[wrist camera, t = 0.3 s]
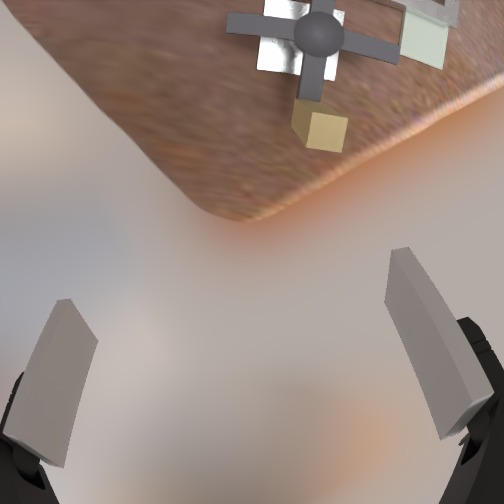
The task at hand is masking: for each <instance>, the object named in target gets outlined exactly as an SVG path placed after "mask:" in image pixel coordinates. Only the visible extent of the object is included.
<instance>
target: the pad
mask: <svg viewBox="0 0 504 504" xmlns="http://www.w3.org/2000/svg"><path fill="white" fill-rule="evenodd" d="M447 35H448V28H444V27H442V26H440V25H437V24H435V23H433V22H431V21H428V20H426V19H424V18H421V17H419V16H417V15H414V14H412V13H409V12H406V11H404V12H403V18H402V26H401V33H400V39H399V46H401V50H400V55H402V56H405V57H408V58H411V59H413V60H416V61H419V62H422V63H424V64H427V65H429V66H432V67H435V68H437V69H440V70H442V67H443V61H444V55H445V49H446V42H447Z"/></svg>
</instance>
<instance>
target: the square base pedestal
mask: <svg viewBox="0 0 504 504" xmlns="http://www.w3.org/2000/svg"><path fill="white" fill-rule="evenodd" d="M309 5H310V4H306V3H301V2H295V1H289V0H265V6H264V14H263V15H267V16H274V17H282V18H288V19H294V20H298V19H299V18H300V17H302V16H304V15H305V14H307V13H308V12H309ZM344 13H345V12H343V11H339V10H334V14H333V16H334V17H335V18H336V19H337V20H338V21H339V22H340V23H341V25H342V27H343V20H344ZM338 54H339V51H338V52H337V53H335V54H334V55H332V56H329V57H327V62H326V68H325V75H324V79H327V80H332V81H334V79H335V73H336V67H337V61H338ZM302 55H303V52H301V51H300V50H299V49H298V48H297V47H296V45H295V43H294V41H291V40H284V39H277V38H269V37H260V45H259V54H258V62H257V69H261V70H269V71H277V72H285V73H292V74H298V75H300V69H301V62H302Z"/></svg>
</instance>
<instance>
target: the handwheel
mask: <svg viewBox="0 0 504 504" xmlns="http://www.w3.org/2000/svg"><path fill="white" fill-rule="evenodd" d="M334 6H335V0H310V5H309V12H308V13H307V14H305V15H304V16H302V17H300V18H299V19H298V20H294V19H288V18H282V17H274V16H267V15H258V14H248V13H236V12H228V17H227V25H226V33H227V34H240V35H251V36H261V37H269V38H277V39H284V40H291V41H294V43H295V45H296V47H297V48H298V49H299V50H300V51H301V52H303V55H302V62H301V69H300V76H299V83H298V90H297V97H296V98H295V101H294V108H293V114H292V121H291V127H292V128H293V130H294V131H295V132H296V134H297V135H298V137H299V138H300V139H301V141H302V142H303V144H304V145H305V146H306V148H313V149H321V150H327V151H334V152H340V153H341V151H342V146H343V142H344V137H345V132H346V127H347V122H348V118H347V117H345V116H344V115H342V114H341V113H339V112H338V111H336V110H334V109H333V108H331V107H329V106H328V105H326V104H325V103H322V102H320V99H321V93H322V87H323V81H324V75H325V68H326V62H327V57H329V56H332V55H334V54H335V53H337V52H338V51H339V50H342V51H347V52H351V53H355V54H359V55H363V56H366V57H370V58H374V59H377V60H381V61H384V62H387V63H391V64H395V65H398V62H399V56H400V50H401V46H398V45H395V44H392V43H389V42H386V41H383V40H380V39H376V38H373V37H370V36H366V35H363V34H359V33H355V32H351V31H347V30H343V27H342V25H341V23H340V22H339V21H338V20H337V19H336V18H335V17H334V16H333V14H334Z"/></svg>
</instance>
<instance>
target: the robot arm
mask: <svg viewBox="0 0 504 504" xmlns="http://www.w3.org/2000/svg"><path fill="white" fill-rule="evenodd" d="M384 302H385V305H386V307H387V309H388V311H389V313H390V315H391V317H392V320H393V322H394V324H395V326H396V329H397V331H398V333H399V335H400V338H401V340H402V342H403V344H404V347H405V349H406V351H407V354H408V356H409V359H410V361H411V363H412V366H413V368H414V371H415V373H416V375H417V378H418V380H419V383H420V386H421V388H422V391H423V393H424V396H425V399H426V401H427V404H428V407H429V409H430V412H431V415H432V418H433V420H434V423H435V426H436V429H437V432H438V435H439V438H440V440H443V439H446V438H448V437H450V436H453V435H456V434H458V433H460V432H461V431H462V430H463V429H464V427H465V426H467V428H468V431H469V433H468V434H467V435H466V436H465V437H464V438H463V439H462V440H461V442H460V443H459V446H461V445H462V444H463V443H464V446H463V448H462V451H461V454H460V456H459V459H458V461H457V464H456V466H455V469H454V471H453V474H452V476H451V478H450V481H449V483H448V485H447V487H446V489H445V492H444V494H443V496H442V498H441V500H440V502H439V504H504V370H503V368H502V366H501V364H500V362H499V360H498V359H497V356H496V355H495V353H494V351H493V350H491V346H490V344H489V342H488V341H487V340H486V337H485V335H484V334H483V332H482V330H481V329H480V327H479V326H478V325H477V324H476V323H474V322H473V321H472V320H471V319H470V318H469V317H465V318H462V319H459V320H456V319H455V317H454V316H453V314H452V312H451V311H450V309H449V308H448V306H447V304H446V303H445V301H444V299H443V298H442V296H441V295H440V293H439V291H438V290H437V288H436V287H435V285H434V284H433V282H432V281H431V279H430V278H429V276H428V274H427V273H426V272H425V270H424V268H423V267H422V266H421V264H420V263H419V261H418V260H417V258H416V257H415V255H414V254H413V252H412V251H411V250H410V248H409V247H407V248H401V249H396V250H391V258H390V266H389V274H388V281H387V288H386V295H385V301H384ZM97 343H98V340H97V338H96V337H95V336H94V334H93V333H92V331H91V330H90V328H89V327H88V325H87V324H86V322H85V321H84V319H83V318H82V316H81V315H80V313H79V312H78V310H77V309H76V307H75V305H74V304H73V302H72V301H71V299H64V300H57V303H56V304H55V306H54V308H53V311H52V313H51V314H50V317H49V318H48V320H47V323H46V325H45V327H44V329H43V331H42V333H41V335H40V337H39V340H38V342H37V344H36V346H35V349H34V351H33V353H32V355H31V358H30V360H29V362H28V365H27V367H26V369H25V372H22V374H21V375H20V376H19V378H18V379H17V380H16V382H15V385H14V388H13V390H12V394H11V395H10V398H9V402H8V403H7V406H6V409H5V412H4V415H3V418H2V420H1V424H0V504H59V502H58V500H57V498H56V496H55V493H54V491H53V489H52V487H51V485H50V482H49V480H48V478H47V475H46V473H45V471H44V468H43V467H42V465H40V464H39V462H40V459H41V460H42V461H44V462H45V463H47V464H49V465H51V466H55V467H60V468H64V464H65V460H66V455H67V450H68V446H69V441H70V437H71V433H72V429H73V425H74V421H75V417H76V413H77V409H78V405H79V402H80V398H81V394H82V391H83V387H84V384H85V380H86V377H87V374H88V371H89V368H90V364H91V361H92V358H93V355H94V352H95V349H96V346H97Z"/></svg>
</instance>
